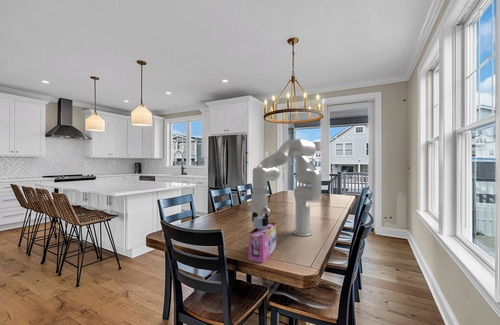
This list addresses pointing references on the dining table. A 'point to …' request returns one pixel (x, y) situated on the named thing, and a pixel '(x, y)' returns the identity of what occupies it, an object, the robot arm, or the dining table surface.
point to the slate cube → (258, 223)
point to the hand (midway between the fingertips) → (259, 223)
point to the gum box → (262, 243)
